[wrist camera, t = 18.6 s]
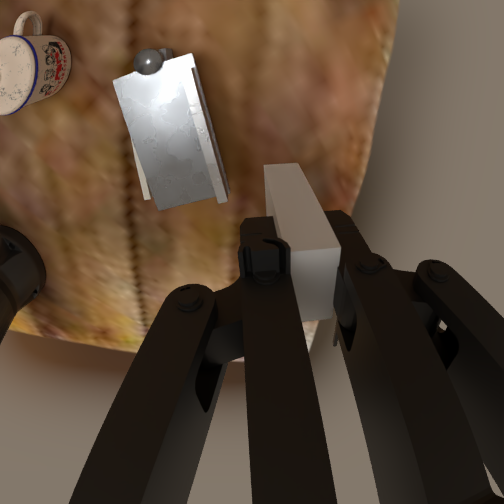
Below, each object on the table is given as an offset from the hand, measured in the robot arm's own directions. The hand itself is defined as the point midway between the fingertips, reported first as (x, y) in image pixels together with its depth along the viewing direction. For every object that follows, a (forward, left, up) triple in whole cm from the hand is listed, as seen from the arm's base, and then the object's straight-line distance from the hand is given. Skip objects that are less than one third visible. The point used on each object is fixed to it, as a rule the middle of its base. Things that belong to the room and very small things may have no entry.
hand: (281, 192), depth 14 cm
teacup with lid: (-25, +12, -25) cm, 37 cm away
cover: (-9, 0, -20) cm, 22 cm away
